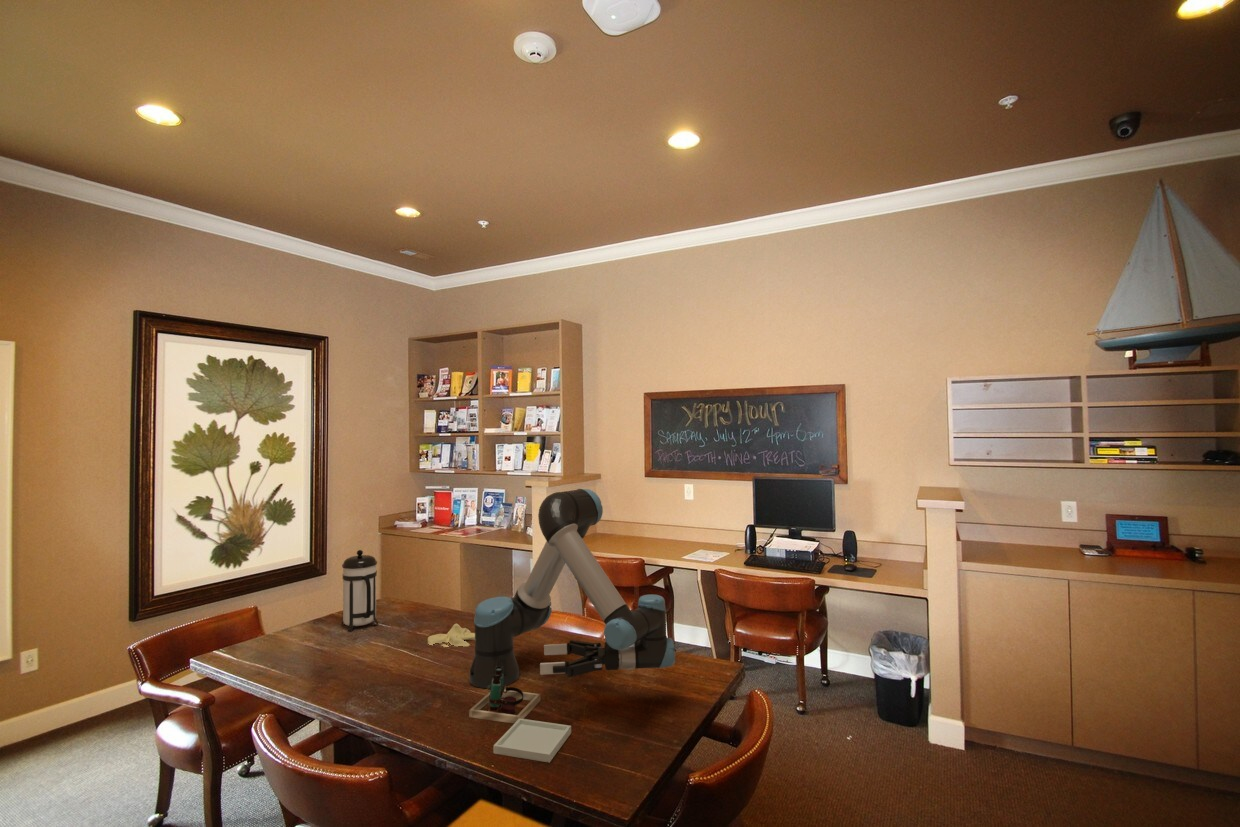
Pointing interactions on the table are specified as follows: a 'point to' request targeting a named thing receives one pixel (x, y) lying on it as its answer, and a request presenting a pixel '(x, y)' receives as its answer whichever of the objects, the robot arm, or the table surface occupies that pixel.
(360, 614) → the coffee press
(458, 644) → the cloth
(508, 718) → the holder
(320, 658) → the table surface
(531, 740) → the tray
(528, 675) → the table surface
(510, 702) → the binoculars
